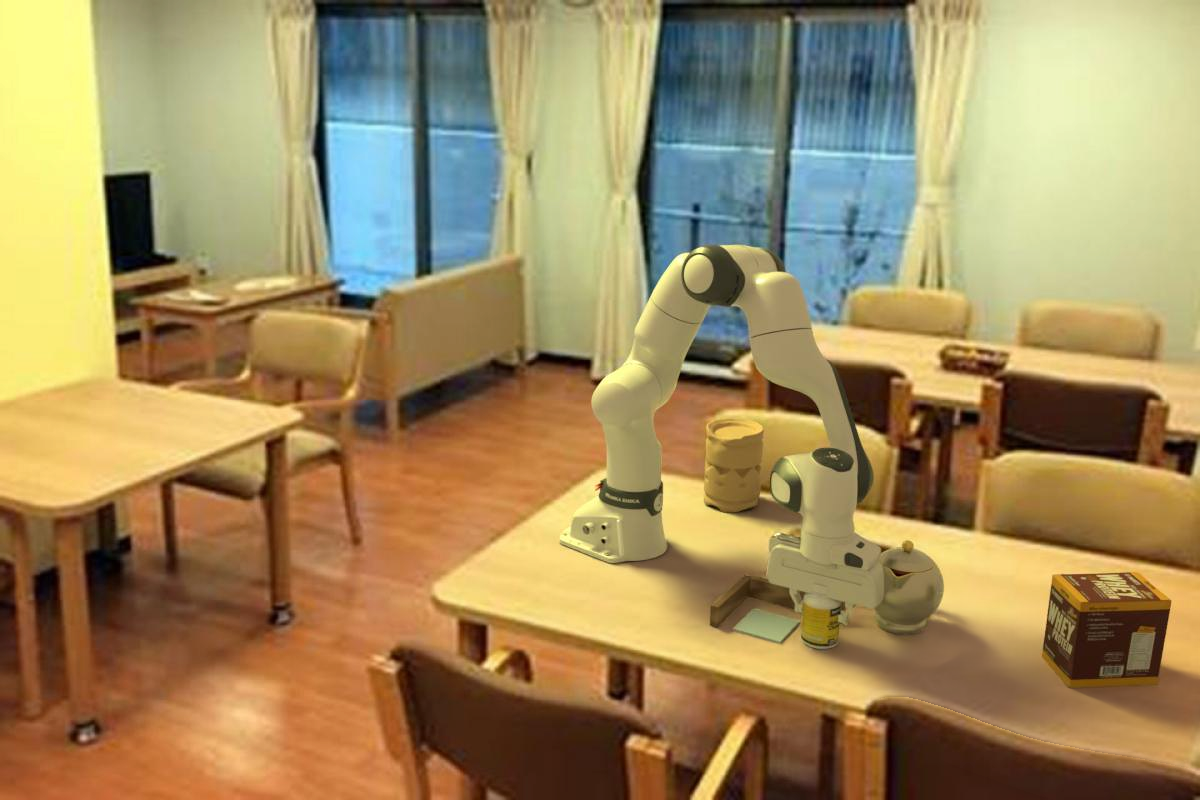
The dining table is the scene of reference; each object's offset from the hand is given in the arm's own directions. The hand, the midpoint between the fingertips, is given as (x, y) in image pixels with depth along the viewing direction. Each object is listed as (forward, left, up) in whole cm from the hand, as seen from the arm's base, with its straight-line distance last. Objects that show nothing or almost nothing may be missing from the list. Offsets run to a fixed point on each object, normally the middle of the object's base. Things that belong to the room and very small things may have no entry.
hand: (821, 617), depth 204 cm
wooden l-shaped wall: (-9, +3, -5) cm, 10 cm away
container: (-40, +50, -5) cm, 64 cm away
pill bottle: (0, 0, -5) cm, 5 cm away
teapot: (+10, +15, -5) cm, 19 cm away
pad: (-10, 0, -5) cm, 11 cm away
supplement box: (+43, +15, -5) cm, 46 cm away
